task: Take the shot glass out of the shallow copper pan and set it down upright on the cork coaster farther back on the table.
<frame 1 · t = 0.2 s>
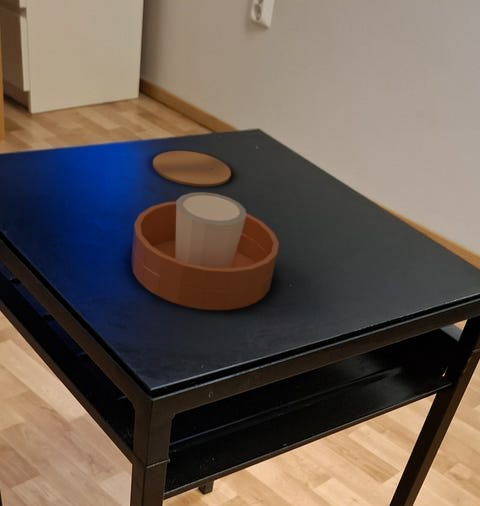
coaster: (191, 171, 95), on the table
pan: (201, 273, 76), on the table
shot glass: (201, 272, 76), resting on pan
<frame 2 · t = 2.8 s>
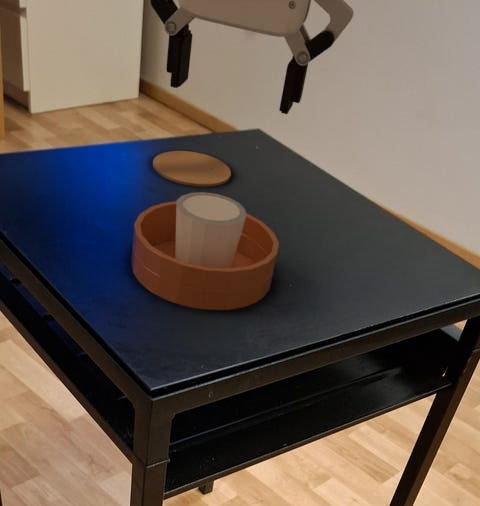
hand: (232, 96, 64), 18 cm above the table, tool pointing down, fingers open, 9 cm apart
nothing on the table moved.
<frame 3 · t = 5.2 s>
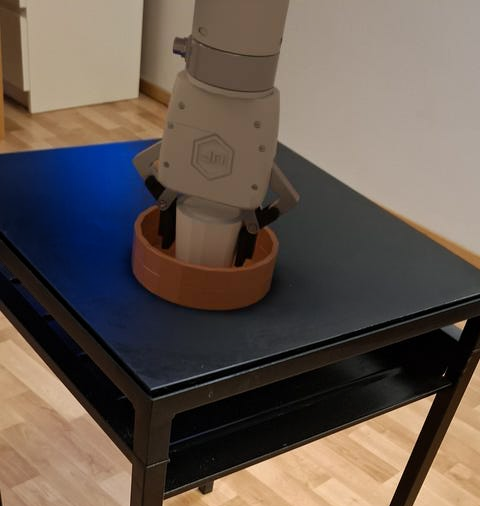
hand: (204, 251, 74), 2 cm above the table, tool pointing down, fingers closed on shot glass, 6 cm apart
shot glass: (201, 272, 76), resting on pan, touching gripper
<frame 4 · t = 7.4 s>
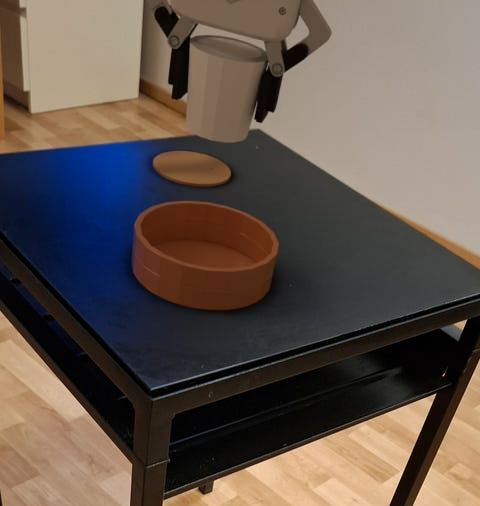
hand: (220, 105, 65), 17 cm above the table, tool pointing down, fingers closed on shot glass, 6 cm apart
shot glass: (216, 131, 67), point 14 cm above the table, touching gripper
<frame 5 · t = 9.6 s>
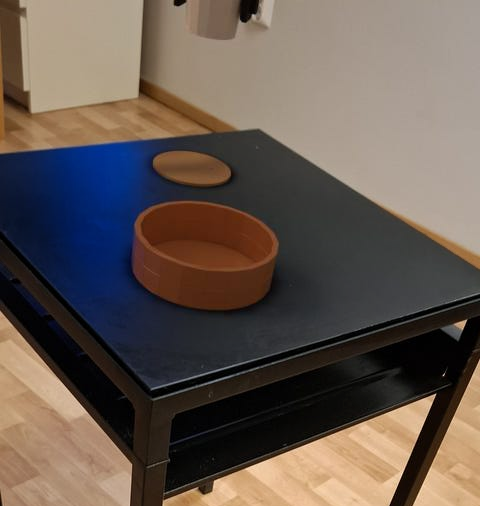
hand: (213, 10, 81), 19 cm above the table, tool pointing down, fingers closed on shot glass, 6 cm apart
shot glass: (210, 34, 82), point 17 cm above the table, touching gripper
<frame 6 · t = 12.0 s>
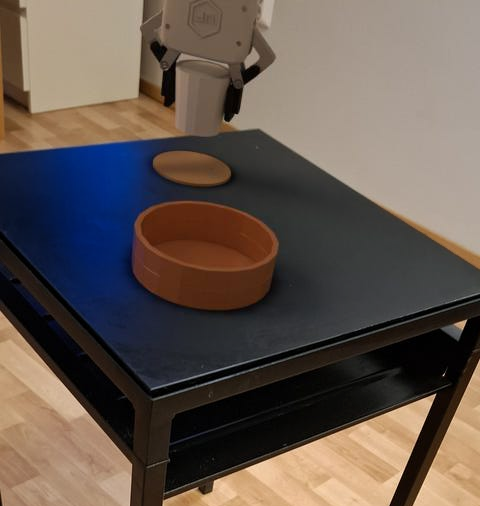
hand: (199, 110, 90), 8 cm above the table, tool pointing down, fingers closed on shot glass, 6 cm apart
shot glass: (197, 129, 91), point 5 cm above the table, touching gripper
when the fingers open (3 cm above the table, at t = 13.8 s): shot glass stays where it is, resting on coaster.
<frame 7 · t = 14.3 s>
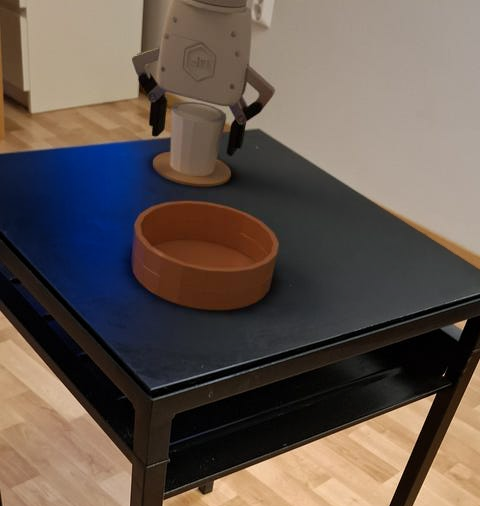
hand: (194, 142, 92), 4 cm above the table, tool pointing down, fingers open, 9 cm apart
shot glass: (191, 168, 94), resting on coaster
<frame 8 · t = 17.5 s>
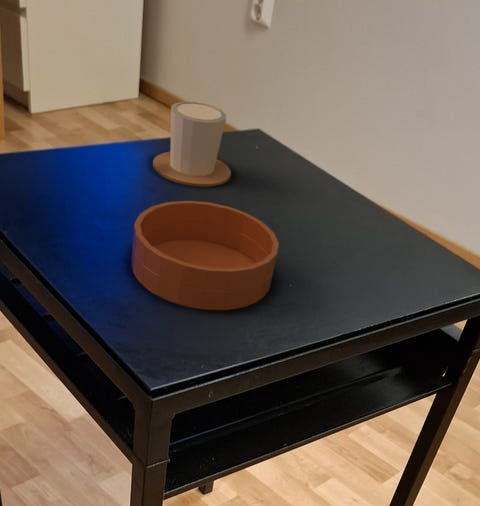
nothing on the table moved.
at the end: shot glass 0.0 cm off-centre on the coaster, point 0.4 cm above the coaster's base; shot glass tilted 0° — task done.
